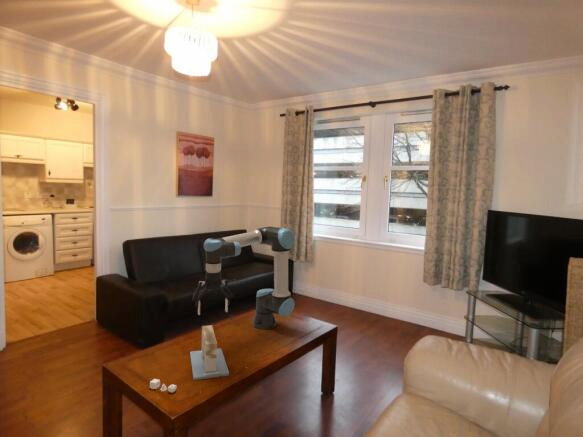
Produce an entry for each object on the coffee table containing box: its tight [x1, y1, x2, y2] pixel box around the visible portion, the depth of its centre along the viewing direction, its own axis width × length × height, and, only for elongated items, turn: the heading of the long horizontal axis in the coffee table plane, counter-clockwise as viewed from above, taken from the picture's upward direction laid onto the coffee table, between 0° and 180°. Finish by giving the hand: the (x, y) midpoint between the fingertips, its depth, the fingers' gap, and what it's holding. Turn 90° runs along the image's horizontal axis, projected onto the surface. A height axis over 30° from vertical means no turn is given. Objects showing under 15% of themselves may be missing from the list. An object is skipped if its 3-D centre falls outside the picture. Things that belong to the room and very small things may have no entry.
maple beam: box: [201, 324, 218, 359], centre depth 170 cm, size 5×22×7 cm, turn 19°
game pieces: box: [149, 378, 177, 394], centre depth 148 cm, size 12×3×3 cm, turn 72°
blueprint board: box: [189, 342, 230, 381], centre depth 171 cm, size 16×26×8 cm, turn 20°
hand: (212, 312), depth 174 cm, fingers open, 13 cm apart
